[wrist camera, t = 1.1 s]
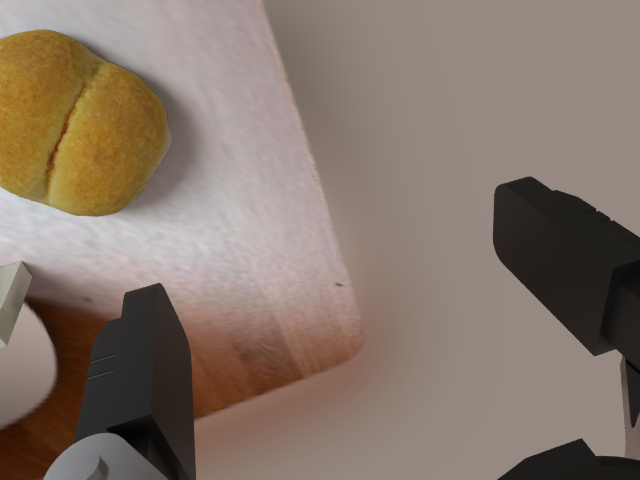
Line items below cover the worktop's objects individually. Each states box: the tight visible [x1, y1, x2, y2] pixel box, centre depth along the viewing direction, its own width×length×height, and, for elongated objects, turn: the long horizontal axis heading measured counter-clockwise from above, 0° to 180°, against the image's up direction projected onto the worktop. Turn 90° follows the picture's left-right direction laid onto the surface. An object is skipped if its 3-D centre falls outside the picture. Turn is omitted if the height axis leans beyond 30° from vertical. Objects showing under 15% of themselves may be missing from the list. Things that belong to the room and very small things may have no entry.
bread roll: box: [0, 30, 173, 217], centre depth 23 cm, size 8×9×4 cm
